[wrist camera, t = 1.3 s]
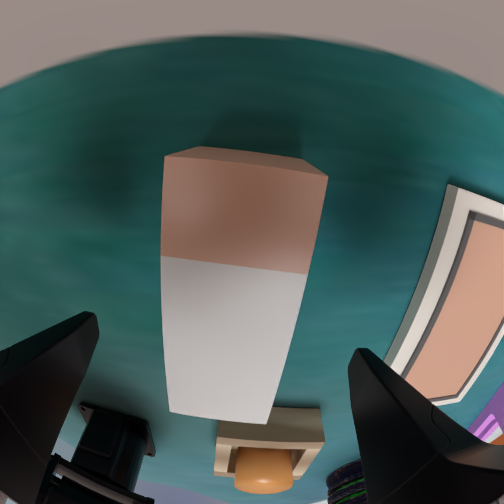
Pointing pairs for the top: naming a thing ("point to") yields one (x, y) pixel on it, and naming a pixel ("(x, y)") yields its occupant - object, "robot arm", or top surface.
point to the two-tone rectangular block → (233, 275)
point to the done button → (263, 470)
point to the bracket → (490, 417)
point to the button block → (272, 438)
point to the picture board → (455, 301)
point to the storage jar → (347, 485)
